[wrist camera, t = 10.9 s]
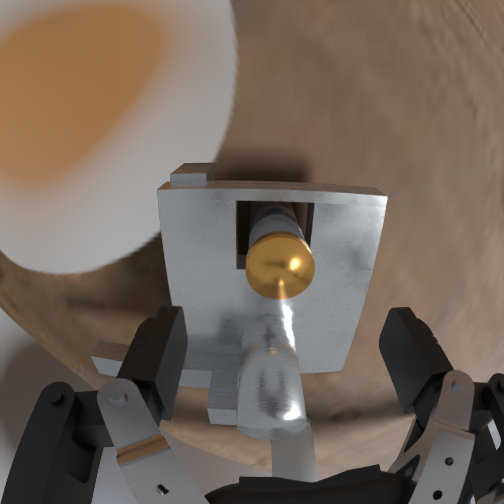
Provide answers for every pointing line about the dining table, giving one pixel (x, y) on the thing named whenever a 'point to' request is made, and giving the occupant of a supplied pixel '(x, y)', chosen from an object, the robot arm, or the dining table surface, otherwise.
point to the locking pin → (277, 252)
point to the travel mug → (295, 456)
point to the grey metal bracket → (254, 305)
